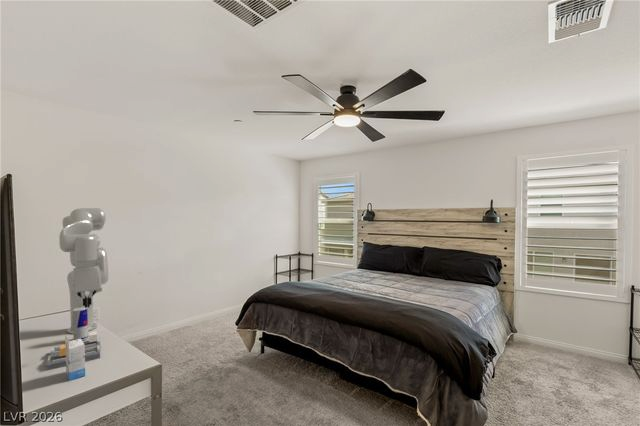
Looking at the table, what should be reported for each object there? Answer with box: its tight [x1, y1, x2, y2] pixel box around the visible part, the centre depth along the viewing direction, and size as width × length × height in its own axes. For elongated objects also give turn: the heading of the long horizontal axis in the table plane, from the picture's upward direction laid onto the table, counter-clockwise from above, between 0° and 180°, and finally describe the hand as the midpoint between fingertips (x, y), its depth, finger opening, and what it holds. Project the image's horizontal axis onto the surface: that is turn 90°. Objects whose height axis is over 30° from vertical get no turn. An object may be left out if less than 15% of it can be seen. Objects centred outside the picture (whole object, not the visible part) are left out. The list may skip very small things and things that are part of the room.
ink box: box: [64, 334, 86, 381], centre depth 119 cm, size 9×5×15 cm, turn 45°
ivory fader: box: [88, 330, 98, 343], centre depth 143 cm, size 4×3×4 cm, turn 35°
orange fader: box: [60, 344, 66, 357], centre depth 129 cm, size 4×3×4 cm, turn 35°
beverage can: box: [72, 307, 89, 342], centre depth 152 cm, size 6×6×15 cm
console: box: [45, 337, 101, 371], centre depth 135 cm, size 20×17×3 cm
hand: (87, 306), depth 136 cm, fingers closed
